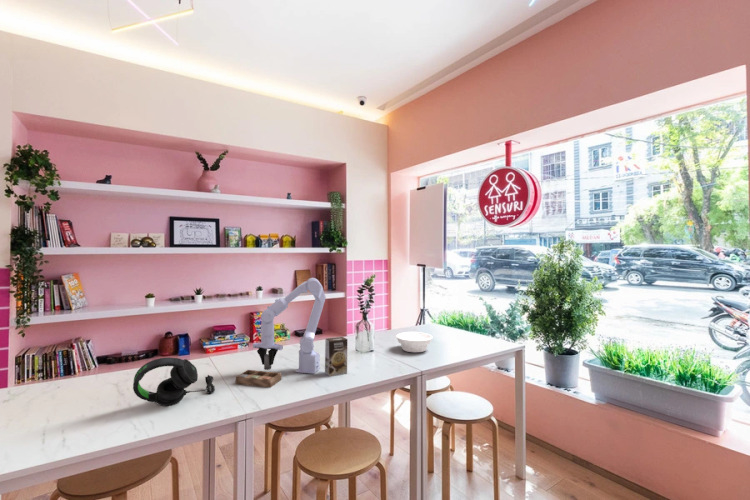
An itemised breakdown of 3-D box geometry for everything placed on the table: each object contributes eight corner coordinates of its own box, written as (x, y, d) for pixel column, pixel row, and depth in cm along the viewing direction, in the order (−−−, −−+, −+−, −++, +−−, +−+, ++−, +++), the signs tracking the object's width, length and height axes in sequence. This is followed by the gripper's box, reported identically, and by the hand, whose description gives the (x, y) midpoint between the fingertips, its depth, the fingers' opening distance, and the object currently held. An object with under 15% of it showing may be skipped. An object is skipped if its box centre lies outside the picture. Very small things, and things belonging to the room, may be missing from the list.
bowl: (388, 349, 201) (388, 335, 201) (412, 343, 215) (412, 330, 215) (416, 358, 186) (416, 342, 186) (439, 350, 200) (439, 336, 200)
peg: (272, 367, 163) (272, 354, 163) (268, 370, 159) (268, 356, 160) (266, 367, 163) (266, 353, 163) (262, 369, 160) (262, 355, 160)
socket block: (281, 379, 153) (281, 372, 153) (270, 387, 144) (270, 379, 144) (247, 376, 157) (248, 369, 157) (235, 383, 148) (235, 376, 148)
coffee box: (329, 376, 157) (329, 341, 157) (324, 372, 163) (324, 338, 163) (347, 373, 161) (347, 339, 161) (342, 369, 167) (342, 336, 167)
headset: (200, 418, 135) (120, 402, 118) (199, 392, 146) (126, 374, 129) (228, 384, 134) (151, 363, 117) (225, 360, 145) (154, 338, 128)
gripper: (286, 334, 164) (286, 362, 164) (258, 332, 167) (258, 360, 167) (278, 337, 157) (278, 367, 157) (250, 335, 160) (250, 365, 160)
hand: (267, 364), depth 161 cm, fingers closed on peg, 3 cm apart
